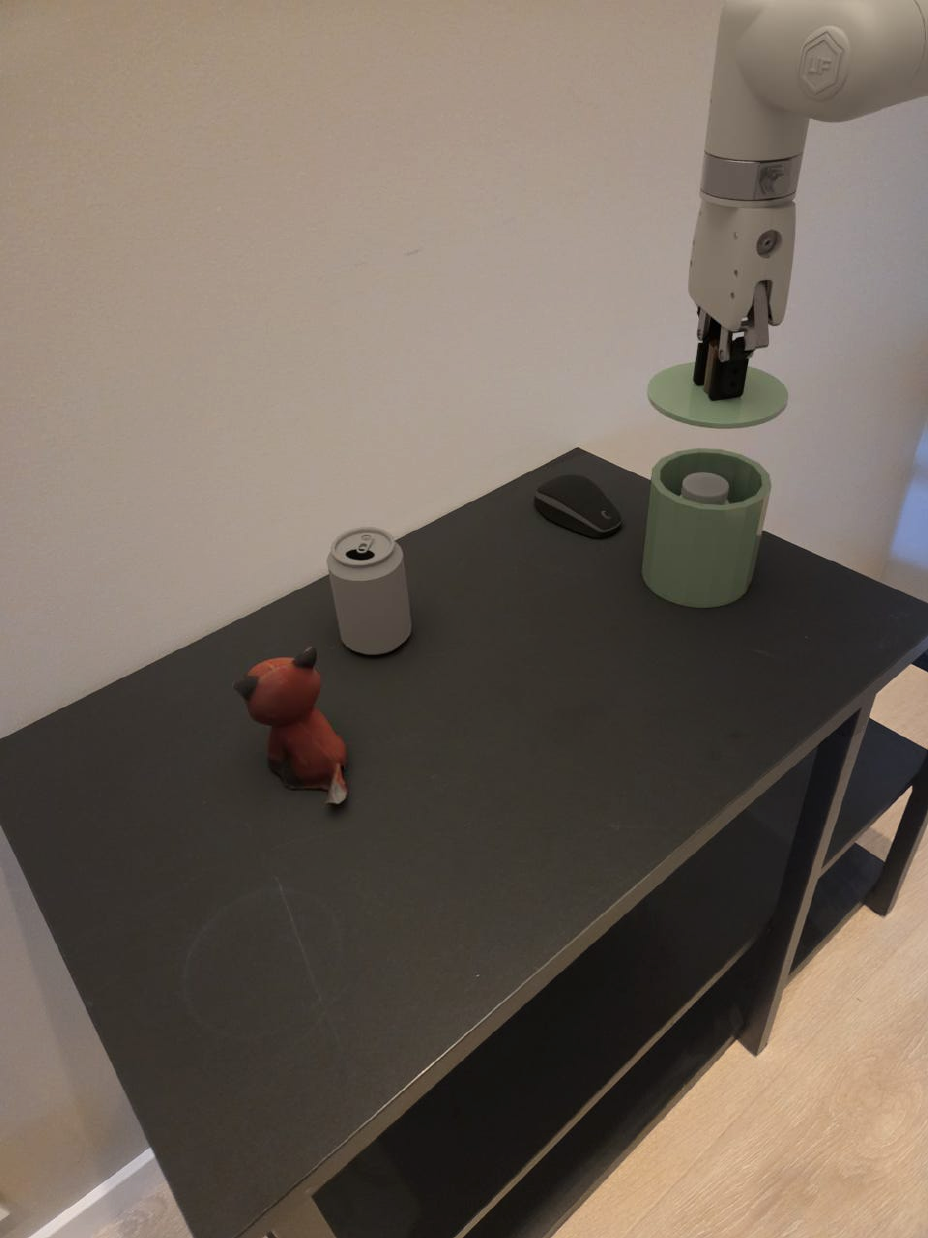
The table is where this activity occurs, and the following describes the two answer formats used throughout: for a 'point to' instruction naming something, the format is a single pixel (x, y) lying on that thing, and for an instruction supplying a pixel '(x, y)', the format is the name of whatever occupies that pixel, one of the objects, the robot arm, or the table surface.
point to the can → (369, 590)
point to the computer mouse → (578, 506)
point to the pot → (704, 529)
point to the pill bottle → (705, 488)
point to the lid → (694, 407)
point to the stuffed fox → (295, 723)
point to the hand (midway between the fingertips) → (717, 388)
